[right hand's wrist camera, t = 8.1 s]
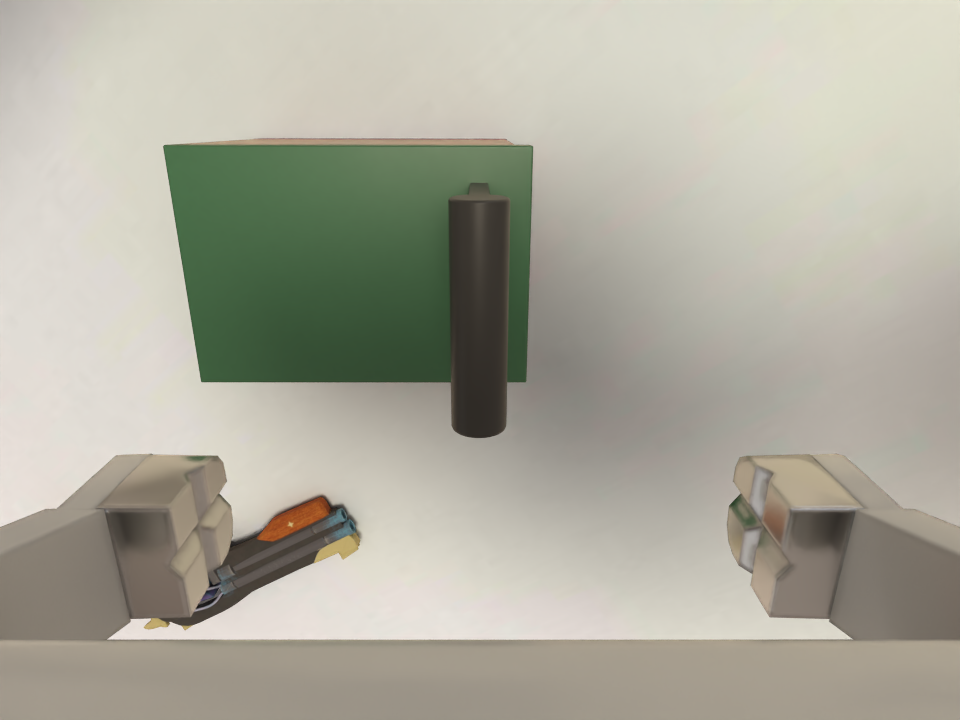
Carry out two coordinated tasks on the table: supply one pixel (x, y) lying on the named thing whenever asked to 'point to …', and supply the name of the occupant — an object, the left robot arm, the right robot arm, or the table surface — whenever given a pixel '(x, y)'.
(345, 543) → the toy gun
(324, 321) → the lid
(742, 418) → the table surface
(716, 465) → the table surface
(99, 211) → the table surface
